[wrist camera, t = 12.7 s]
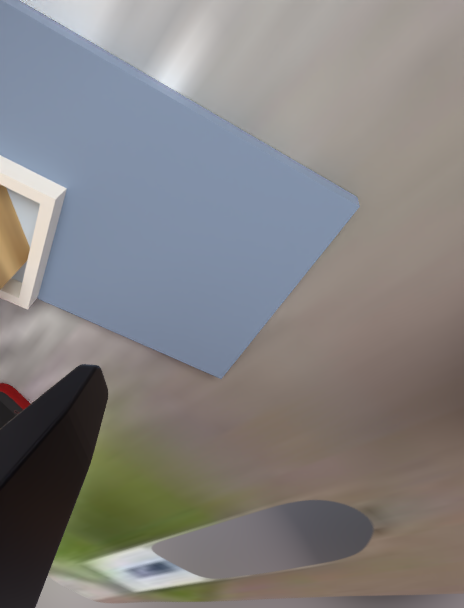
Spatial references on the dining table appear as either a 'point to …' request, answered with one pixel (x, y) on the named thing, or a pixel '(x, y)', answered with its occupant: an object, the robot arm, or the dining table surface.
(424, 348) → the dining table surface
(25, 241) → the pillar block
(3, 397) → the cell phone
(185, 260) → the board
